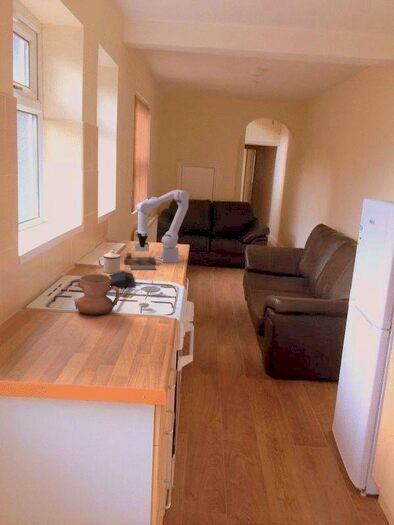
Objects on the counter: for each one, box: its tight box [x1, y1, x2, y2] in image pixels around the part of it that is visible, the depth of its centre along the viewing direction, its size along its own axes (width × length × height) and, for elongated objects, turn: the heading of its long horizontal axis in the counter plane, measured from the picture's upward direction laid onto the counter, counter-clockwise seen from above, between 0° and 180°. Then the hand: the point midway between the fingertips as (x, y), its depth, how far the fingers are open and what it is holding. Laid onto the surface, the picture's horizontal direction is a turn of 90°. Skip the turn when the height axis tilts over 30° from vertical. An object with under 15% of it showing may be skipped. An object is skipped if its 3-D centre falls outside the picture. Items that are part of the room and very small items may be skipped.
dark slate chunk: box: [108, 271, 136, 289], centre depth 224 cm, size 15×22×5 cm
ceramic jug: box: [73, 273, 121, 316], centre depth 178 cm, size 18×14×14 cm
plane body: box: [123, 252, 157, 266], centre depth 265 cm, size 18×8×6 cm, turn 102°
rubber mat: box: [129, 265, 157, 271], centre depth 255 cm, size 14×9×1 cm, turn 102°
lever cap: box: [134, 241, 150, 252], centre depth 263 cm, size 8×5×5 cm, turn 101°
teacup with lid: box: [97, 250, 121, 275], centre depth 241 cm, size 12×9×12 cm
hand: (141, 246), depth 263 cm, fingers closed on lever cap, 5 cm apart
